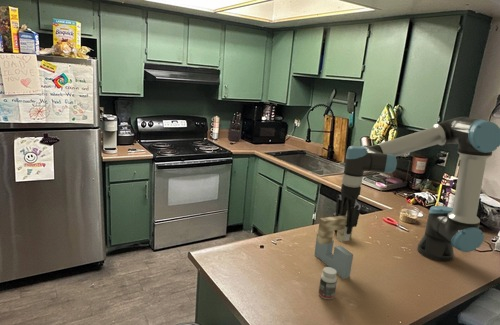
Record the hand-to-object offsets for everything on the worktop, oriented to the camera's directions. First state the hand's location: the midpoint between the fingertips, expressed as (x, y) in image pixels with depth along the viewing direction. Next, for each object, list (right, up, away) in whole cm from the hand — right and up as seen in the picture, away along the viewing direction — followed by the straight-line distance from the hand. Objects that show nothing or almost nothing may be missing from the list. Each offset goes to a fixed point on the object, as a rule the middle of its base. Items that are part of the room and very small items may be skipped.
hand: (342, 238), depth 145 cm
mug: (+7, -5, +32) cm, 33 cm away
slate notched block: (-5, -12, +1) cm, 12 cm away
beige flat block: (-4, -1, -2) cm, 5 cm away
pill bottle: (-11, -16, -20) cm, 28 cm away
